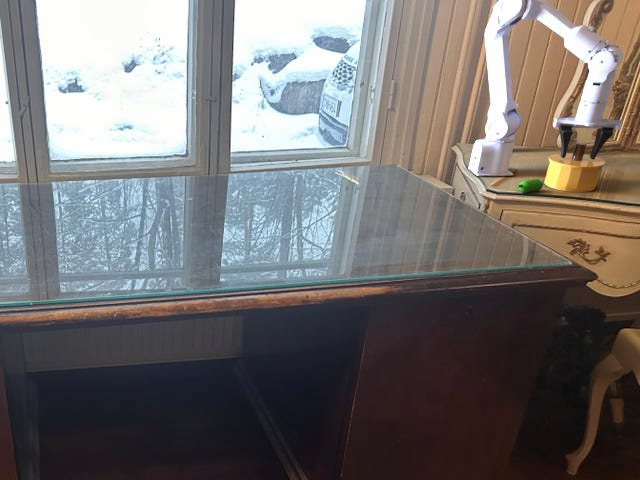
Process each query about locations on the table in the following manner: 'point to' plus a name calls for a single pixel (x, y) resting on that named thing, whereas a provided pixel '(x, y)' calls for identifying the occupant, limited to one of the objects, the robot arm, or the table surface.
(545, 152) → the table surface
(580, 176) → the pot
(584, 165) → the pot lid
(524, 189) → the chili
